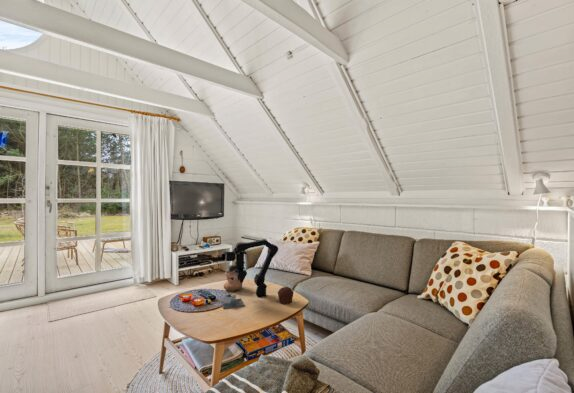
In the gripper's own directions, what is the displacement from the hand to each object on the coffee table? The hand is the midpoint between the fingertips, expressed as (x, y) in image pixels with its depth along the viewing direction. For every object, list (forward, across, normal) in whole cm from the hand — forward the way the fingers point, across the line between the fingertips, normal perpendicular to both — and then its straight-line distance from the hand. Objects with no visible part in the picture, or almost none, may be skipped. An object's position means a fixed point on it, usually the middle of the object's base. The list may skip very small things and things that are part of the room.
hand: (240, 281), depth 207 cm
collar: (+11, +9, -9) cm, 17 cm away
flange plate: (+12, +9, -7) cm, 17 cm away
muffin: (+12, +17, +29) cm, 36 cm away
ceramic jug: (+12, -21, -1) cm, 24 cm away
